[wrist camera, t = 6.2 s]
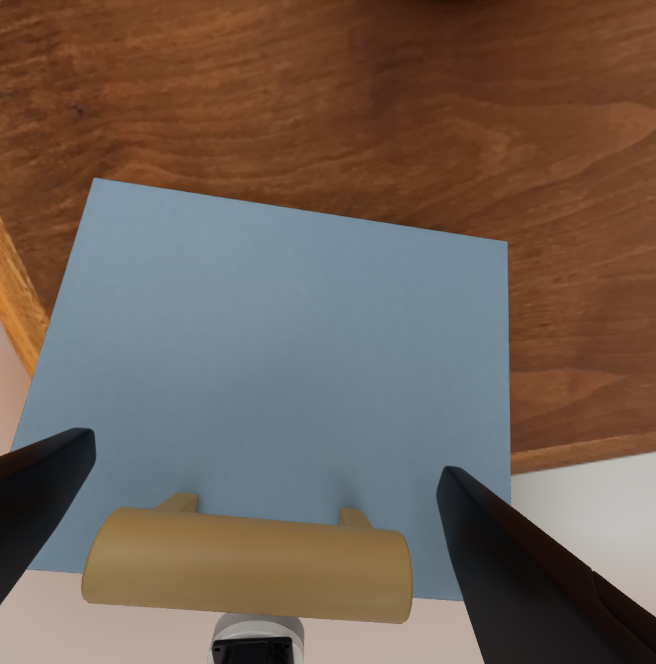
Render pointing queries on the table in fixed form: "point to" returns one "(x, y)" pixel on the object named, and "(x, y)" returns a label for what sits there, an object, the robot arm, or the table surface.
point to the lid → (269, 403)
